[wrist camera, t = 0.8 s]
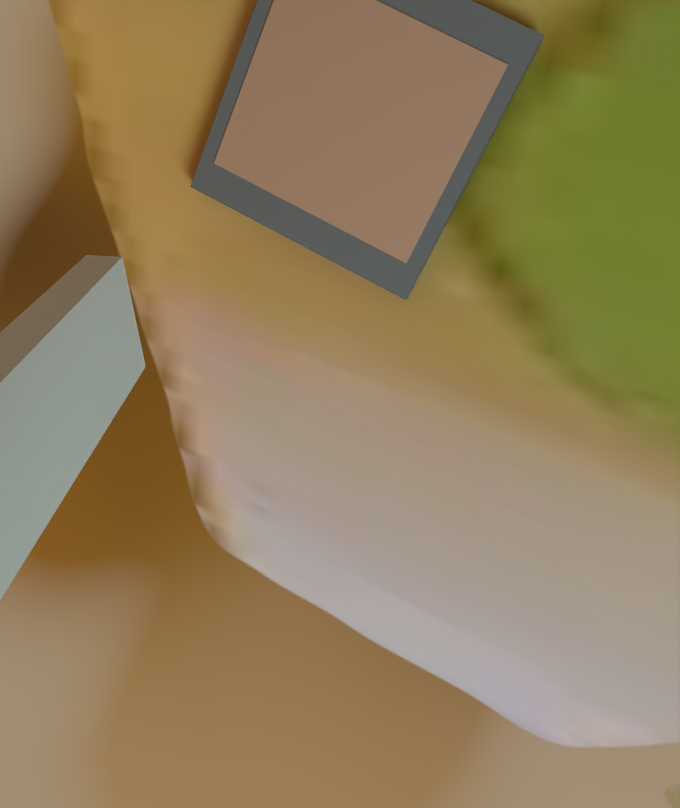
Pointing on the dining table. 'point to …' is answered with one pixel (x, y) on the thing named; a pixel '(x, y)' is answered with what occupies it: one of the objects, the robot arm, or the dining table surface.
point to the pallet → (362, 123)
